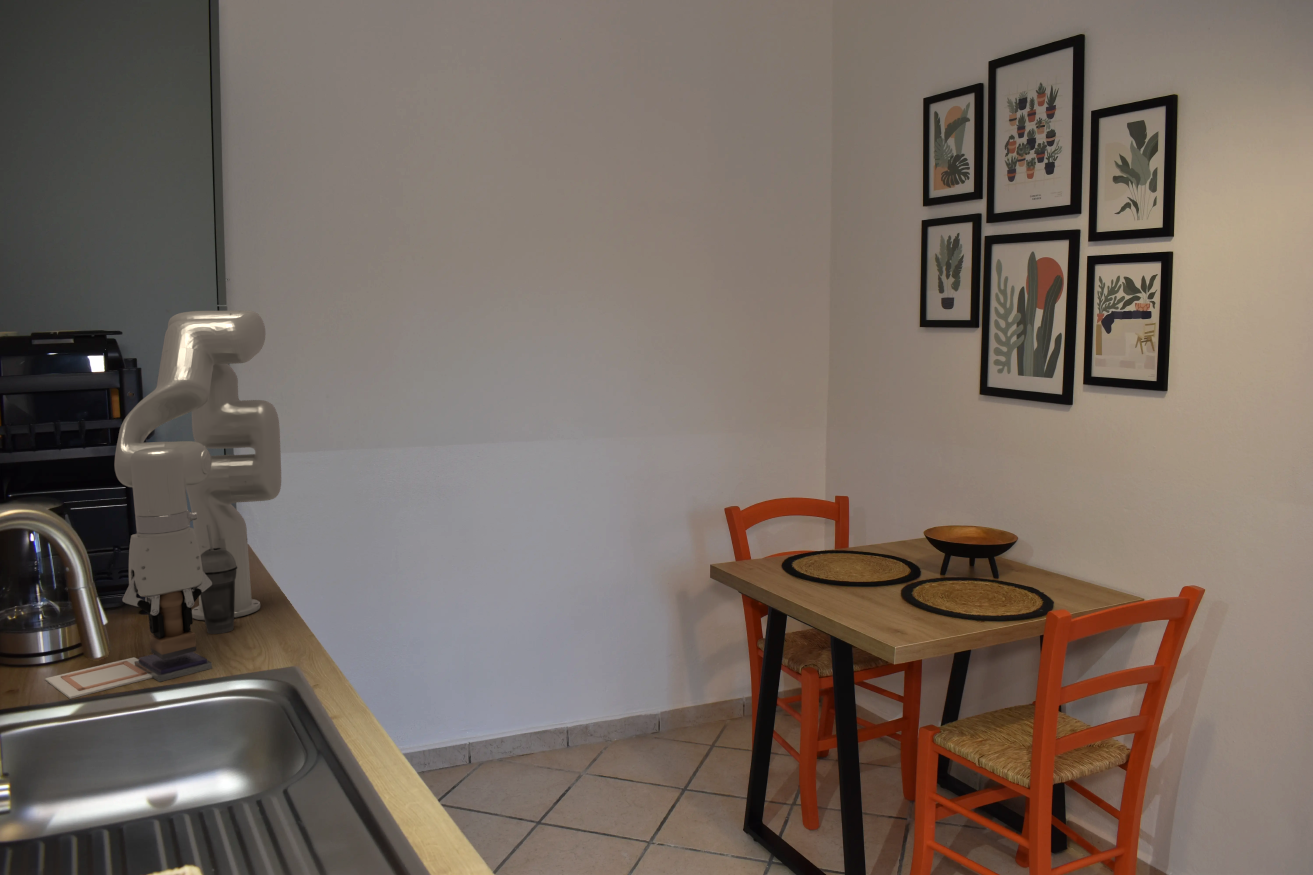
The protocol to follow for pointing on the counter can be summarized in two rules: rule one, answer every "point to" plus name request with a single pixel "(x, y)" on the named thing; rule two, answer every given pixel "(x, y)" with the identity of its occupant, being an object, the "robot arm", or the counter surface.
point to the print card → (98, 678)
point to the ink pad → (173, 665)
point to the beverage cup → (218, 588)
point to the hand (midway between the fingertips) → (172, 632)
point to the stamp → (172, 629)
